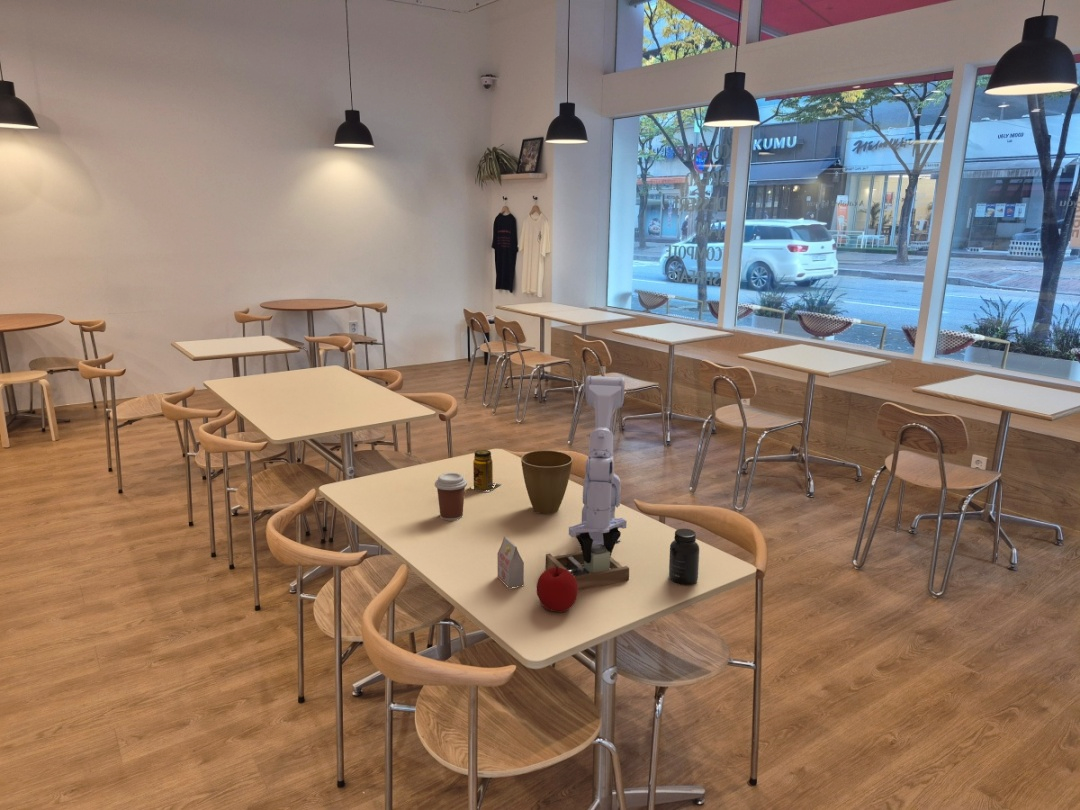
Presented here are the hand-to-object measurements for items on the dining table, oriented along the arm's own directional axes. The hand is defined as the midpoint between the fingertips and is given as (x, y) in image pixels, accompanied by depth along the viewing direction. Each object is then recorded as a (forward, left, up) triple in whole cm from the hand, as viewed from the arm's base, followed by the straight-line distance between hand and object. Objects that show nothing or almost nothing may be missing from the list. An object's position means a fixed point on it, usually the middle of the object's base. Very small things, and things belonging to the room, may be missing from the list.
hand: (596, 559), depth 175 cm
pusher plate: (0, -7, -3) cm, 8 cm away
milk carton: (-4, -21, -4) cm, 21 cm away
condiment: (-66, -5, -4) cm, 66 cm away
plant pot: (-41, +5, -4) cm, 41 cm away
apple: (+11, -16, -4) cm, 20 cm away
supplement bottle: (+11, +17, -4) cm, 21 cm away
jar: (0, 0, -3) cm, 3 cm away
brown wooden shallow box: (0, -3, -3) cm, 4 cm away
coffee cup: (-47, -22, -4) cm, 52 cm away
